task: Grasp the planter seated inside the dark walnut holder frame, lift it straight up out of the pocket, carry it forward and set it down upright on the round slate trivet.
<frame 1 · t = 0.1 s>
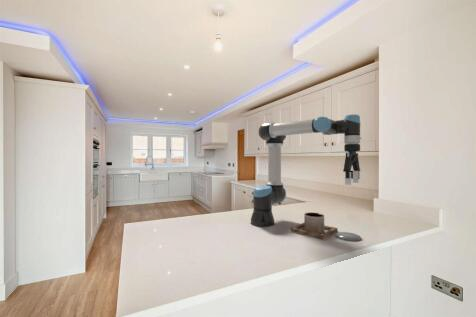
hand: (352, 183, 118), 28 cm above the worktop, fingers open, 13 cm apart
planter: (314, 231, 126), resting in holder frame
slate trivet: (347, 237, 116), on the worktop
holder frame: (314, 231, 126), on the worktop
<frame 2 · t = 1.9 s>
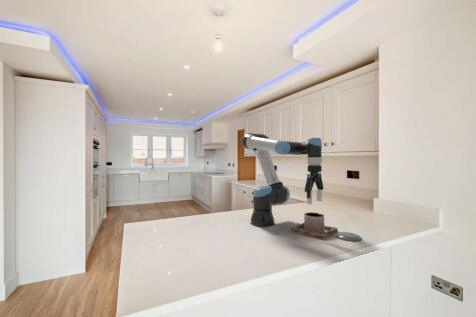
hand: (314, 202, 126), 16 cm above the worktop, fingers open, 13 cm apart
nothing on the worktop moved.
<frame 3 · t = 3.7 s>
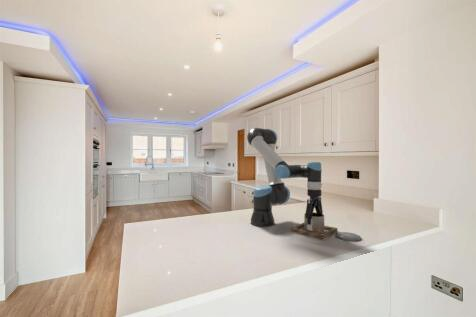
hand: (314, 227, 125), 2 cm above the worktop, fingers closed on planter, 11 cm apart
planter: (314, 231, 126), resting in holder frame, touching gripper
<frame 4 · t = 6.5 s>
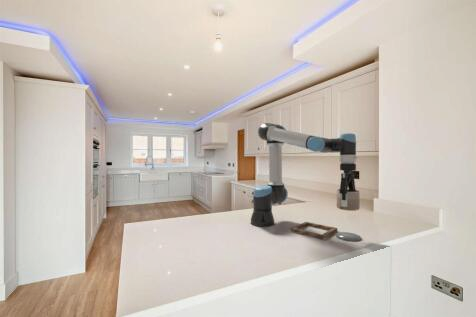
hand: (347, 204, 116), 17 cm above the worktop, fingers closed on planter, 11 cm apart
planter: (347, 209, 116), point 15 cm above the worktop, touching gripper
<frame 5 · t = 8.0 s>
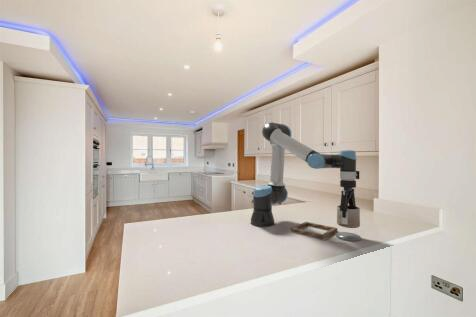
hand: (348, 221, 116), 8 cm above the worktop, fingers closed on planter, 11 cm apart
planter: (348, 225, 116), point 6 cm above the worktop, touching gripper
when the fingers open (4 cm above the worktop, at t = 9.3 s): planter drops 2 cm, resting on slate trivet.
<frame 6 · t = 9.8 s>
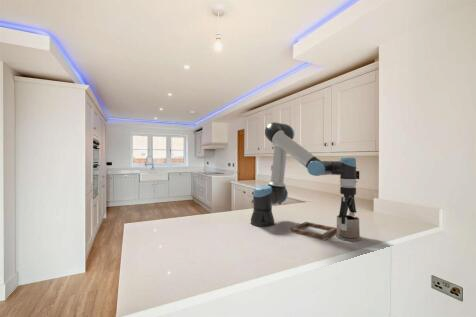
hand: (347, 227, 116), 5 cm above the worktop, fingers open, 13 cm apart
planter: (347, 235, 116), point 1 cm above the worktop, touching slate trivet
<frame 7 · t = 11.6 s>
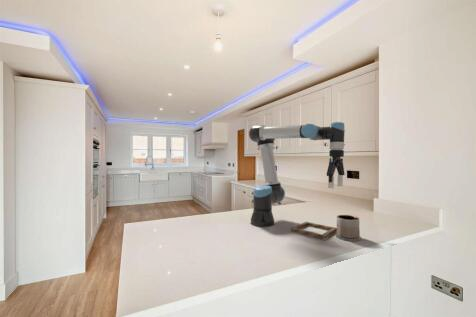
hand: (335, 187, 126), 25 cm above the worktop, fingers open, 13 cm apart
nothing on the worktop moved.
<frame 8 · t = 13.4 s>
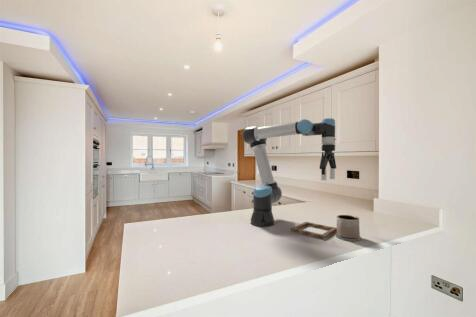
hand: (328, 179, 133), 29 cm above the worktop, fingers open, 13 cm apart
nothing on the worktop moved.
at the end: planter 0.1 cm from the slate trivet (horizontally); planter tilted 0°; planter point 0.6 cm above the worktop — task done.
